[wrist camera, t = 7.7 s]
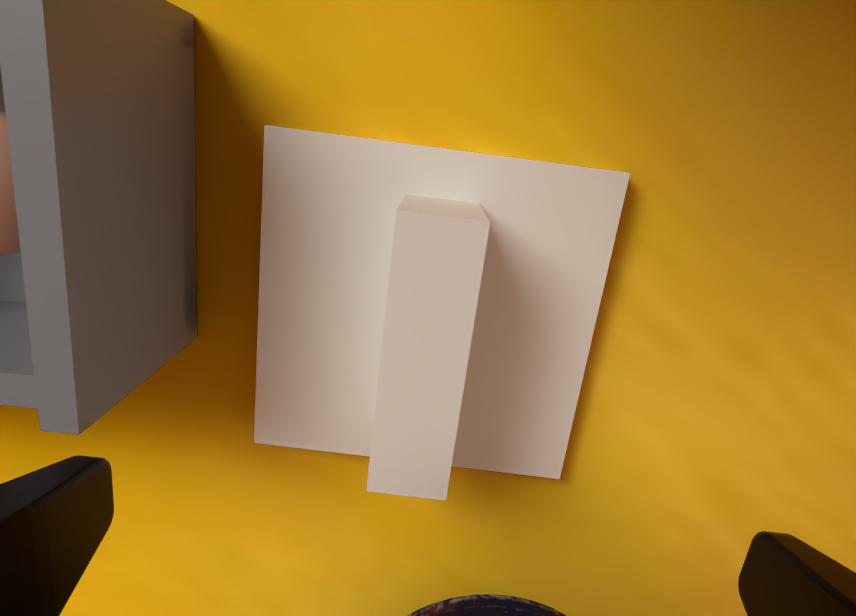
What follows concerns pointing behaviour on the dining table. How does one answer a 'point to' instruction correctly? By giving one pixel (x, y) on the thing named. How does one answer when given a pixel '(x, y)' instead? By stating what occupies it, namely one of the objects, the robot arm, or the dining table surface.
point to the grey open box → (94, 202)
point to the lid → (426, 304)
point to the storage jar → (486, 607)
